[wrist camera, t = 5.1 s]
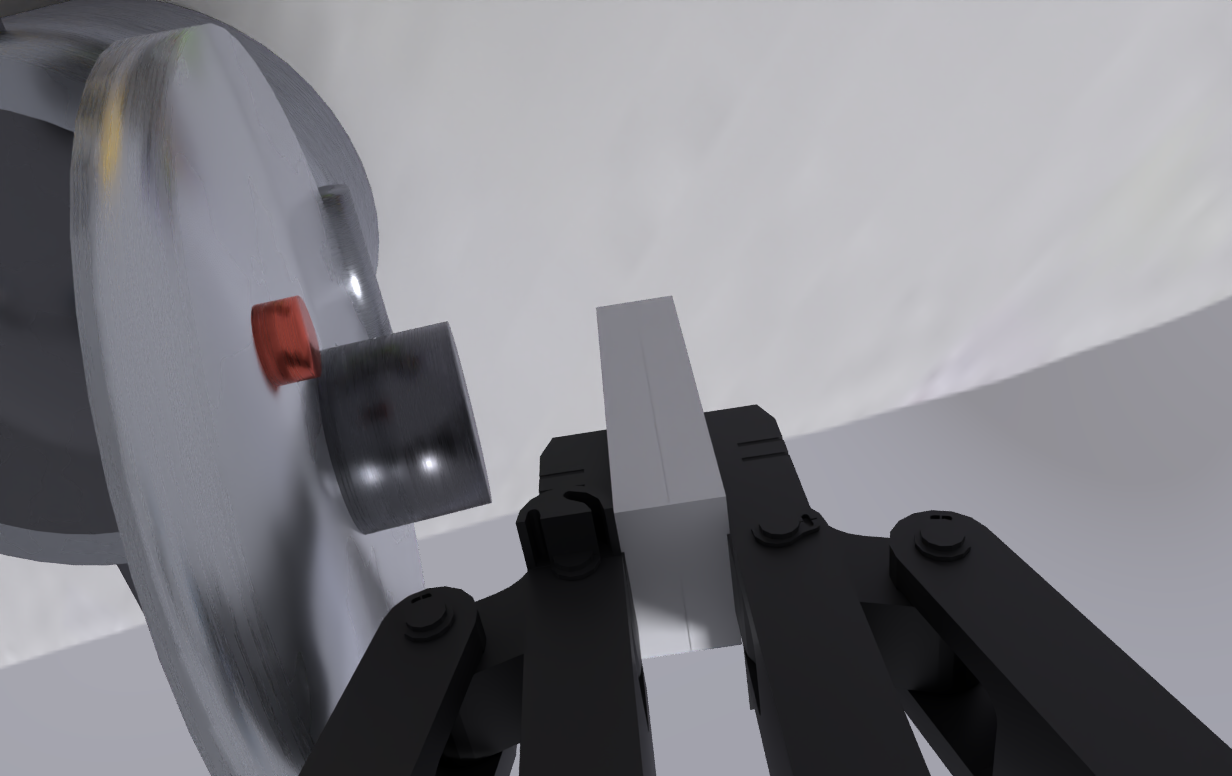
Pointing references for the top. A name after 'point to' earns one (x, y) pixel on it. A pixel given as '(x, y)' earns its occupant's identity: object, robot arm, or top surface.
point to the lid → (247, 399)
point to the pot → (43, 276)
